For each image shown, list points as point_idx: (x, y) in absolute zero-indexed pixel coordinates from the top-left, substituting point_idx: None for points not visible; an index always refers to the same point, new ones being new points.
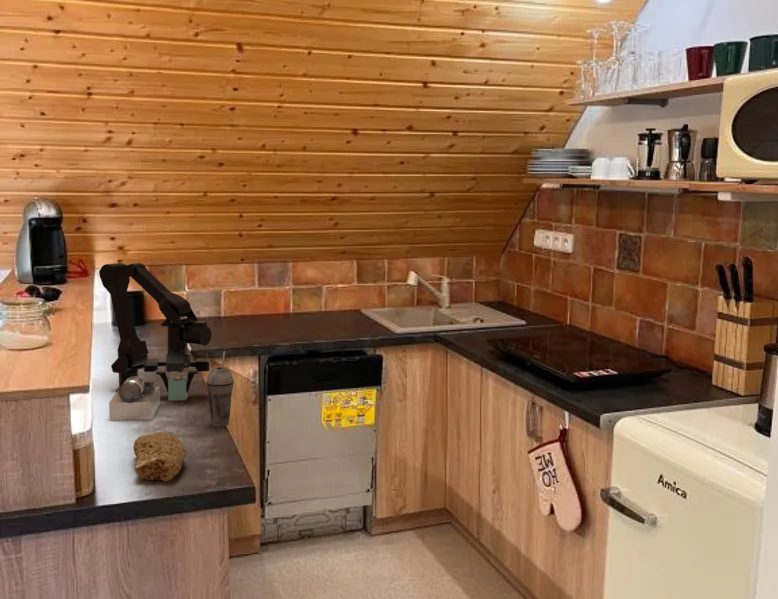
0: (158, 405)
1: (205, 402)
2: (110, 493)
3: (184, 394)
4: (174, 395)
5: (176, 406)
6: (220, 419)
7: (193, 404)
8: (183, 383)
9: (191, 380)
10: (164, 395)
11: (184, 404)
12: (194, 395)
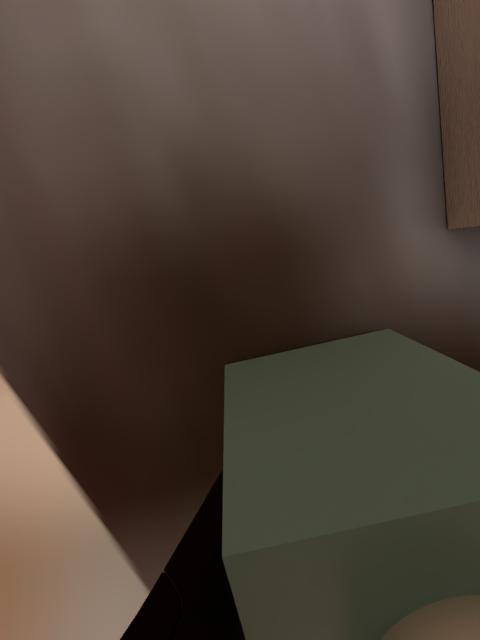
0: (448, 79)
1: (6, 332)
2: None
3: (239, 386)
4: (351, 357)
5: (248, 133)
6: None
7: (96, 240)
8: (267, 486)
9: (125, 632)
10: None
11: (189, 225)
12: None
